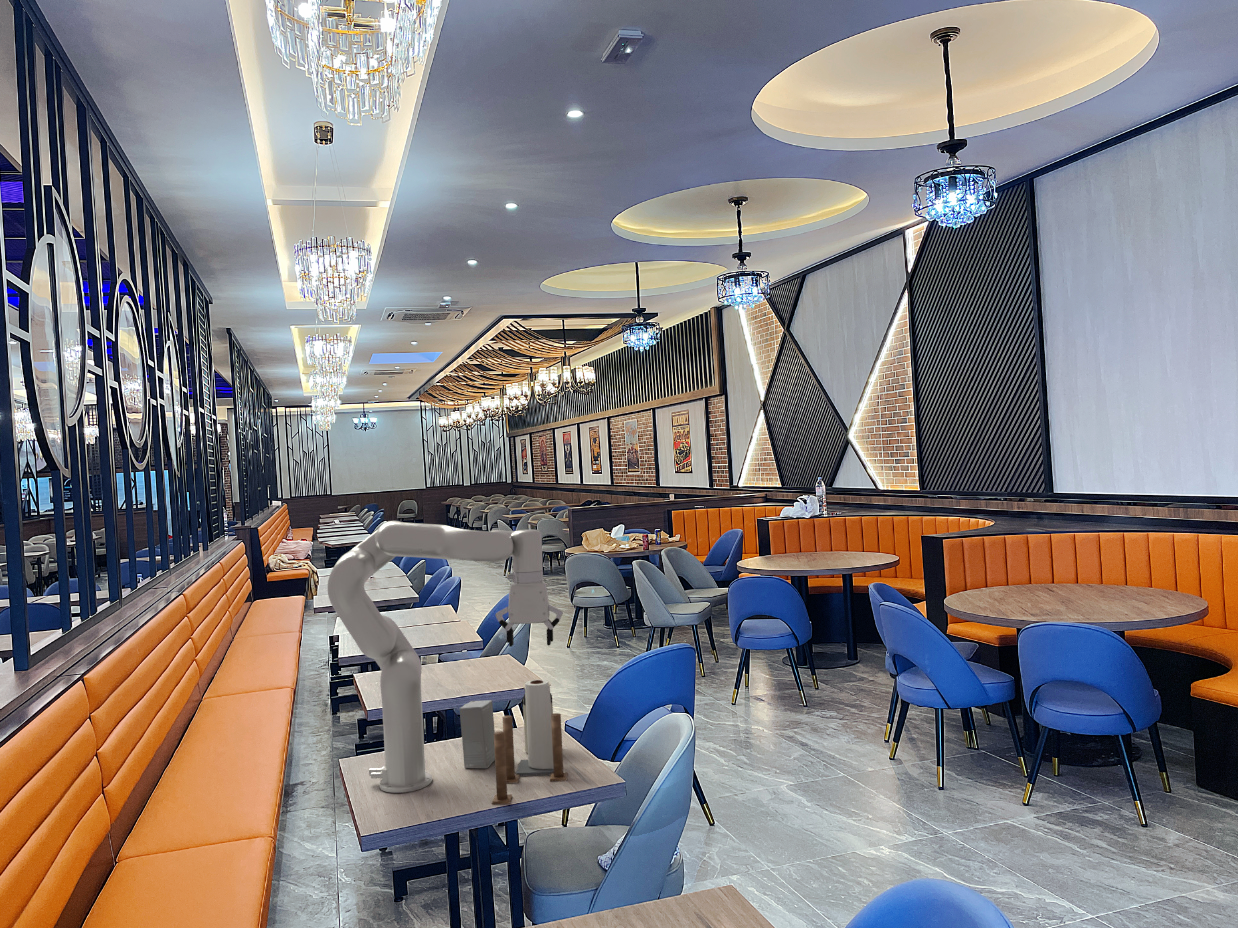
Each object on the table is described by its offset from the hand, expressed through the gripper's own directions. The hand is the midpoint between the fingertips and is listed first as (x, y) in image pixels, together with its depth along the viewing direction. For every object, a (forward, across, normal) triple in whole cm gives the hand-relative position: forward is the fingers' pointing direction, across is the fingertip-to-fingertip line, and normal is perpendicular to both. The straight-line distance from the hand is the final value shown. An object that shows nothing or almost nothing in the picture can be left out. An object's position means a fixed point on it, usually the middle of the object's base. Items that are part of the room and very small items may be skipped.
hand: (530, 644), depth 218 cm
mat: (+32, +1, 0) cm, 32 cm away
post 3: (+32, +7, -7) cm, 33 cm away
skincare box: (+32, -15, +6) cm, 36 cm away
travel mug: (+32, 0, +14) cm, 35 cm away
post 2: (+32, -5, -7) cm, 33 cm away
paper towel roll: (+31, +2, 0) cm, 31 cm away
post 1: (+32, -5, -20) cm, 38 cm away
